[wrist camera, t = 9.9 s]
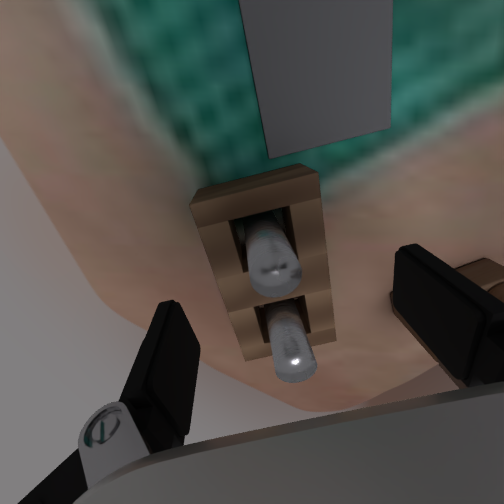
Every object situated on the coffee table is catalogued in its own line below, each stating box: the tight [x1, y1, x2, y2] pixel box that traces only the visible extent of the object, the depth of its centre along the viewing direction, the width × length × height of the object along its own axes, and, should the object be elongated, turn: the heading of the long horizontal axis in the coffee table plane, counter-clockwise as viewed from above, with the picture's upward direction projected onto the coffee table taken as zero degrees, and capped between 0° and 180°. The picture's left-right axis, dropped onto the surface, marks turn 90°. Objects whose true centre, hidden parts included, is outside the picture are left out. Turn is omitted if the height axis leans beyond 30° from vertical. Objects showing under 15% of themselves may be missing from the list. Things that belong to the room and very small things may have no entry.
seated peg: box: [264, 298, 317, 383], centre depth 22 cm, size 3×3×10 cm
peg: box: [243, 210, 302, 298], centre depth 18 cm, size 3×3×10 cm
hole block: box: [189, 163, 336, 361], centre depth 22 cm, size 16×9×5 cm, turn 13°
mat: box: [239, 0, 393, 159], centre depth 18 cm, size 10×10×1 cm
